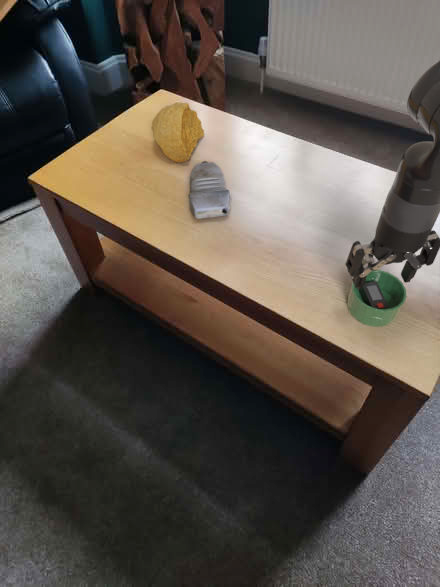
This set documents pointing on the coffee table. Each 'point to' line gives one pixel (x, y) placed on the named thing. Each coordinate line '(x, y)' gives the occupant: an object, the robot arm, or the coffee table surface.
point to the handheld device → (208, 191)
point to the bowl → (392, 294)
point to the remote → (373, 296)
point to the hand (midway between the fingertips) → (381, 282)
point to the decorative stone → (177, 131)
